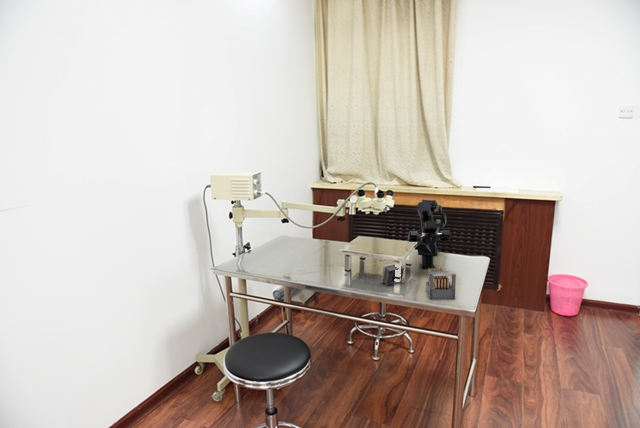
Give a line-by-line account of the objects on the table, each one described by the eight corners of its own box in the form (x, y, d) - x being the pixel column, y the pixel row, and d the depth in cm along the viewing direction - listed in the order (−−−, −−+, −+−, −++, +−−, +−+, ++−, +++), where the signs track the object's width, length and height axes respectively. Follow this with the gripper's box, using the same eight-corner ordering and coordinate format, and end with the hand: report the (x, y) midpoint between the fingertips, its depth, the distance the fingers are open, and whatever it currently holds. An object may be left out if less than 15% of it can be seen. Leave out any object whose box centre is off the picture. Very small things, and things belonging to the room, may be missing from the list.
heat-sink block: (427, 285, 177) (427, 268, 176) (441, 285, 177) (442, 267, 175) (434, 298, 164) (434, 279, 162) (449, 298, 163) (449, 279, 162)
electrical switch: (398, 279, 186) (399, 260, 183) (404, 284, 181) (405, 264, 178) (380, 283, 182) (381, 263, 179) (386, 287, 178) (387, 268, 175)
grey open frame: (425, 290, 171) (425, 267, 169) (449, 290, 170) (450, 267, 168) (429, 299, 163) (430, 274, 161) (455, 299, 162) (455, 274, 160)
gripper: (409, 213, 185) (412, 243, 176) (450, 213, 183) (456, 243, 175) (406, 226, 194) (409, 255, 185) (446, 226, 193) (451, 255, 184)
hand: (431, 252), depth 182 cm, fingers closed
